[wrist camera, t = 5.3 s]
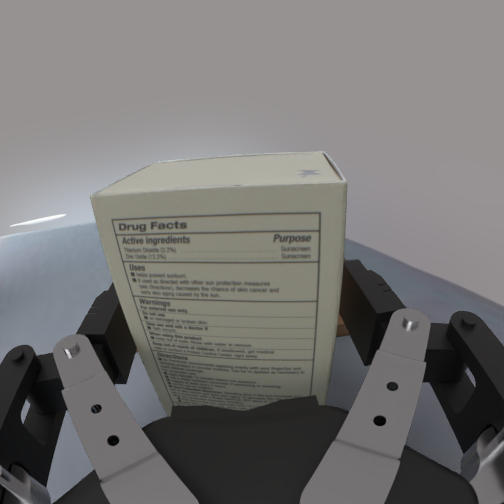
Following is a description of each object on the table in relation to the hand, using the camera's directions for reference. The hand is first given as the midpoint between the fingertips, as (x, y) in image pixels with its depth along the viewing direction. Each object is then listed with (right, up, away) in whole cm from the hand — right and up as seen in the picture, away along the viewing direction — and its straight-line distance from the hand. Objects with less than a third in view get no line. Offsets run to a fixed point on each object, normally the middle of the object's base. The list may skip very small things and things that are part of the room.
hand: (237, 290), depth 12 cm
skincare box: (+1, -7, +2) cm, 7 cm away
